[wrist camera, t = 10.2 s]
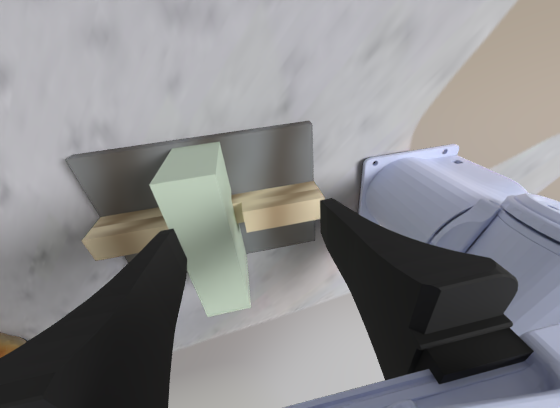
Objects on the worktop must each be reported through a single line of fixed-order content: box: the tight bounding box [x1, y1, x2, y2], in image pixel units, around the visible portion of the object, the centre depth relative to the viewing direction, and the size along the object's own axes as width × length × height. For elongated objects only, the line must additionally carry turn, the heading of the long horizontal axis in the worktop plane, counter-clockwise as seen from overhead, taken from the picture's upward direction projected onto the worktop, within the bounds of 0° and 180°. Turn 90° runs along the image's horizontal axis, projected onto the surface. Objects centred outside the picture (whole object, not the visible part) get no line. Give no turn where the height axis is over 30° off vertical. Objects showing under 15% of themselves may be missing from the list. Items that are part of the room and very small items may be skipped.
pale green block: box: [149, 141, 251, 317], centre depth 19 cm, size 12×4×6 cm, turn 6°
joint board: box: [66, 121, 325, 263], centre depth 20 cm, size 18×12×4 cm, turn 96°
